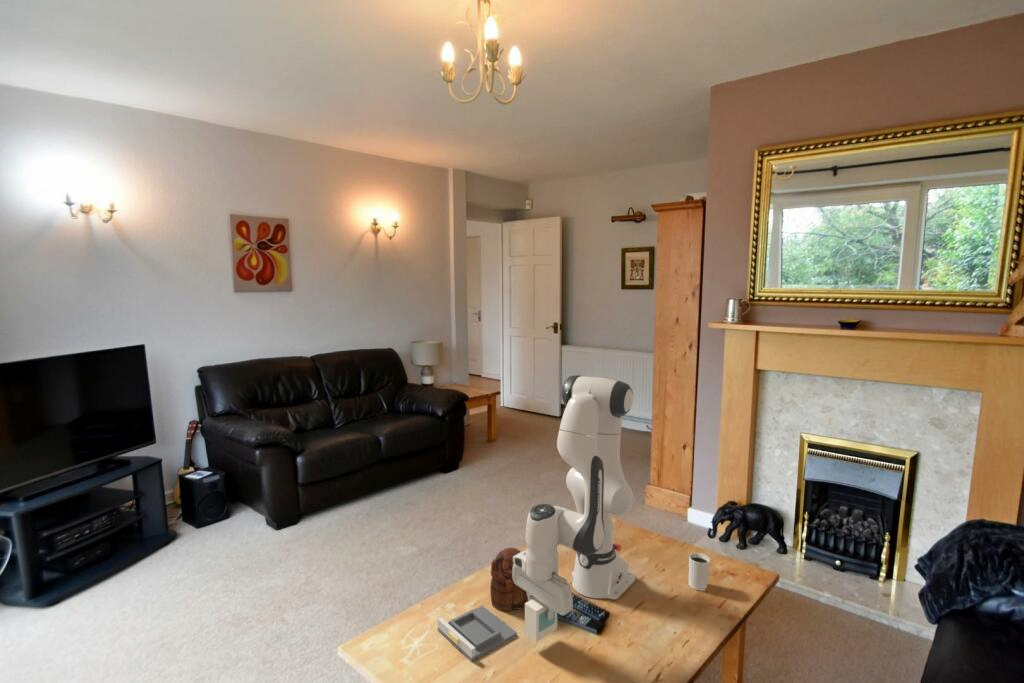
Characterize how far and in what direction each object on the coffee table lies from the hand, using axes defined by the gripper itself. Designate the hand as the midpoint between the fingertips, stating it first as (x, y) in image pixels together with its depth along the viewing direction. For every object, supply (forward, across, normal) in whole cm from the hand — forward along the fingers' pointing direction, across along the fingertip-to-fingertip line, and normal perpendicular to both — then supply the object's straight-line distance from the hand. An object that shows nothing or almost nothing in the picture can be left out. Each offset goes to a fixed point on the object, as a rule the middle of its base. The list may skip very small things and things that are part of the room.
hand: (541, 612), depth 144 cm
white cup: (+11, -13, -60) cm, 63 cm away
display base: (+9, +15, +11) cm, 21 cm away
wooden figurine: (+10, +19, -5) cm, 22 cm away
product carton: (+6, 0, 0) cm, 6 cm away
